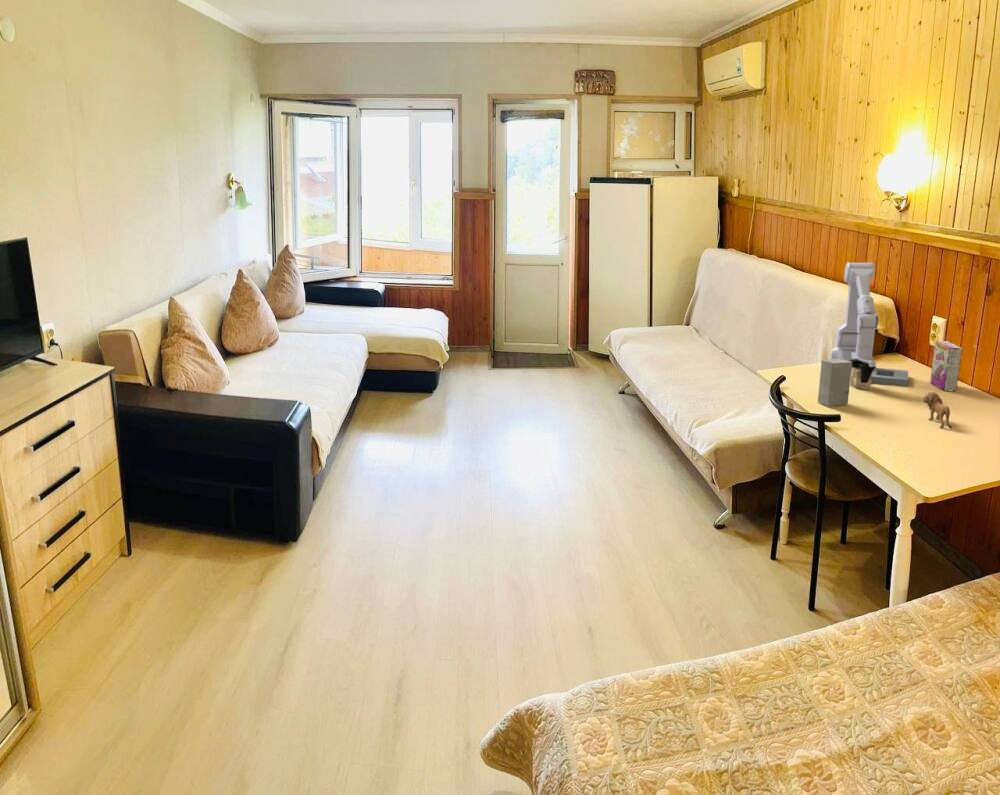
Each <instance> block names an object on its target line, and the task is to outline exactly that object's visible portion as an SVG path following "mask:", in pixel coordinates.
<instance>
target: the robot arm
mask: <svg viewBox="0 0 1000 795" xmlns="http://www.w3.org/2000/svg"><path fill="white" fill-rule="evenodd" d="M875 272H876V267H875V264H874V262H849V261H848V262H847V263H846V264H845V267H844V272H843V273H844V275H843V276H844V277H843V280H844V282H845V283H847V285H848V292H847V304H846V310H845V311H846V312H845V321H844V322H845V323H843V324H842V325H841V326H839V327H837V329H836V335H835V338H834V340H835V341H834V342H835V347H834V348H833V349H832V350H831V354H830V359H843V360H847V361H850V362H852V367H851V370H852V368H860V370H861V382H862V383H867V382H868V380H869V378H870V375H871V373H872V372H873V370H874V369H875V368H877V361H876V360H875V359H874V358H873V351H874V350H873V349H874V343H875V335H876V334H875V333H876V330H877V328H878V326H879V316H878V313H877V310H875V309H876V308H875V302H874V298H873V297H872V296H871V295H870V289H871V288H870V285H871V284H870V282H871V281H873V278H874V277H875Z"/></svg>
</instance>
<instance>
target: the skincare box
mask: <svg viewBox="0 0 1000 795" xmlns="http://www.w3.org/2000/svg"><path fill="white" fill-rule="evenodd" d="M820 361H821V364H820V375H819V385H818V386H819V387H818V396H817V403H819V404H822V405H823V406H826V407H827V408H832V406H834V407H841V406H840V405H842V406H848V402H849V395H850V387H851V386H850V380H851V367H852V362H850V361H847V360H843V359H831V358H830V359H821V360H820Z"/></svg>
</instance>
